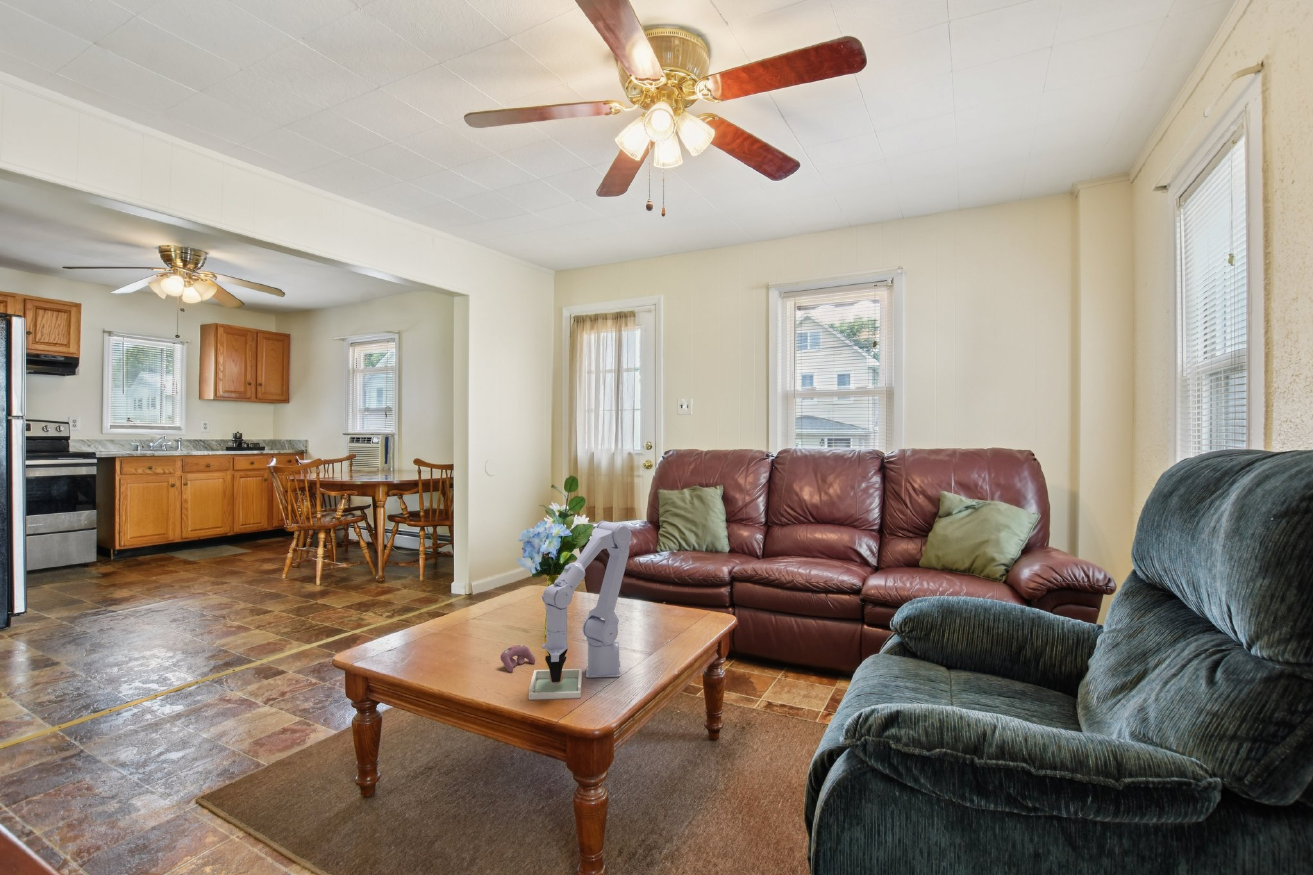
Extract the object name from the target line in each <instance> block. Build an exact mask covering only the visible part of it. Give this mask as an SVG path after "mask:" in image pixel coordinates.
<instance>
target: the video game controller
mask: <svg viewBox="0 0 1313 875" xmlns="http://www.w3.org/2000/svg"><path fill="white" fill-rule="evenodd" d="M514 657H516V659H515V658H514ZM525 659H526V660H527V661H528V662H529V663H530V664H533V665H534V664H536V657H535V656H534V654H533V652H532V651H531V650H530V648H529V647H528V646H526V645H525V644H517V645H512V646H510V647H509V648H506V649H505V650H504V651H503V652H502V653H501V654H500V661H501V663H502V664H503V666H504V668H505V669H506V670H507V671H508V672H510V673H514V672H513V671H514V667H516V665H517V664H518V665H523V664H524V663H525V661H526V660H525Z"/></svg>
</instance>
